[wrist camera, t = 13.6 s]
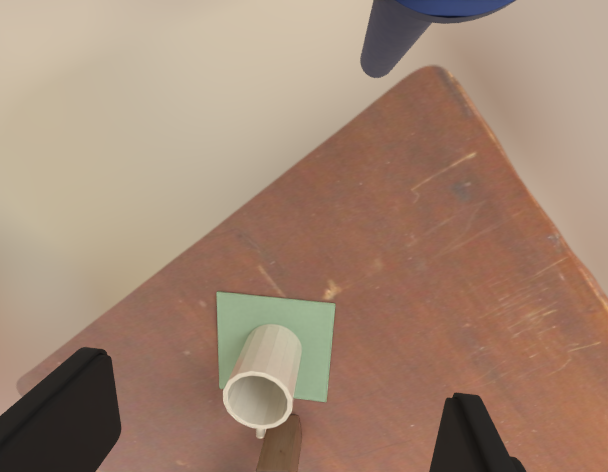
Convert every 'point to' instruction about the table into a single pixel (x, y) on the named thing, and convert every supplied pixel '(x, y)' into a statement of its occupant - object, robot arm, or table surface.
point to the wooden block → (281, 447)
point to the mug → (264, 378)
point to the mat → (286, 312)
